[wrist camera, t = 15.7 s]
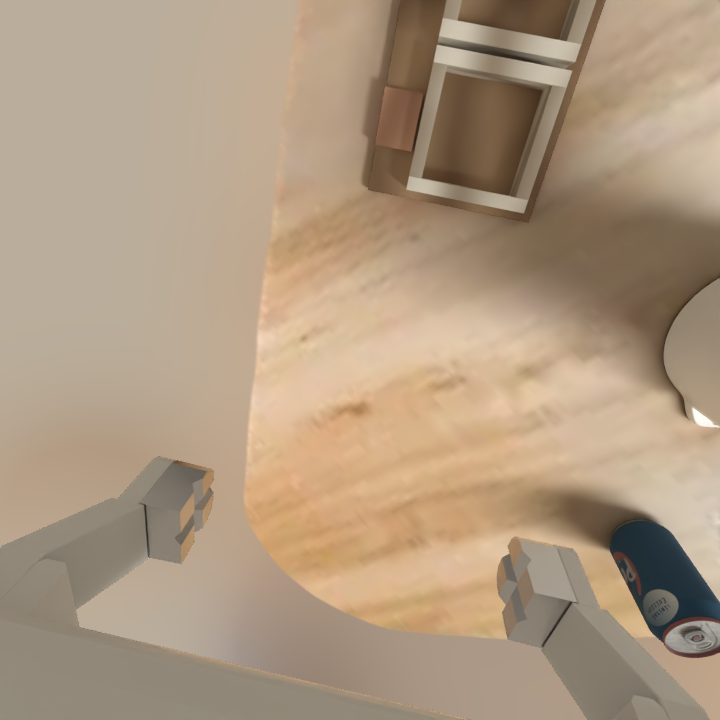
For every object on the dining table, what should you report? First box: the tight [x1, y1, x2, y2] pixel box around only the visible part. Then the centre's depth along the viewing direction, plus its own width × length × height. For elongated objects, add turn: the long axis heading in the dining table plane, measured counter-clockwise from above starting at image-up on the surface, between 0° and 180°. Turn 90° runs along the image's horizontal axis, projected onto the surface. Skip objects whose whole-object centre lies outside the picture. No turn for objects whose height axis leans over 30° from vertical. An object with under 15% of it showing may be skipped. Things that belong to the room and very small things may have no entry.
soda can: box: [610, 520, 720, 658], centre depth 44 cm, size 7×7×12 cm
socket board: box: [368, 0, 605, 222], centre depth 30 cm, size 14×21×4 cm, turn 170°
